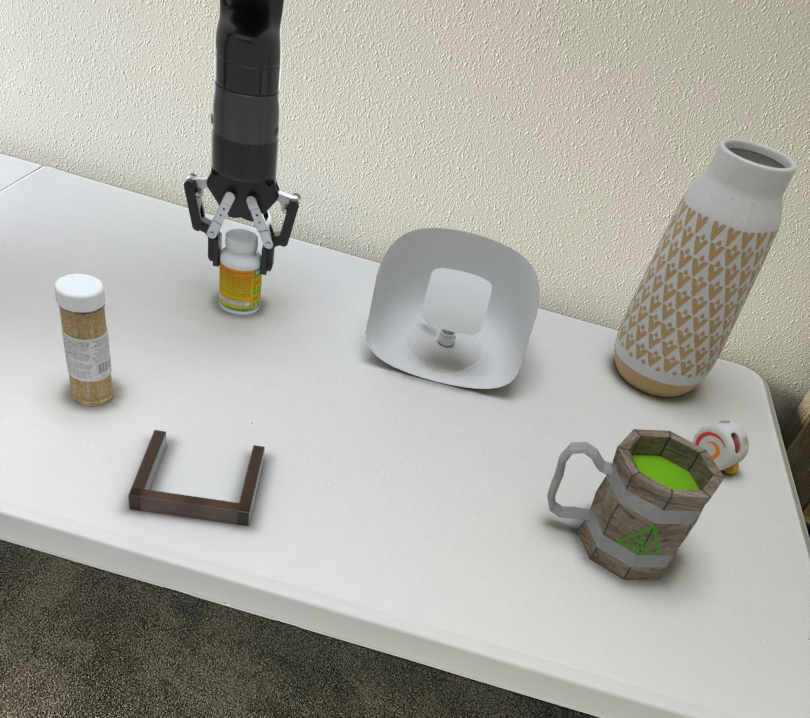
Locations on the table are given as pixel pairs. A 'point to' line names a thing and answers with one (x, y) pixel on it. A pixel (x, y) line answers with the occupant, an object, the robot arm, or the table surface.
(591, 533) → the mug
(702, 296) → the vase
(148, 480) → the frame
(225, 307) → the supplement bottle
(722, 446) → the roller toy
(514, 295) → the rounded square lampshade
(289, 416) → the table surface
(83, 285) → the sprinkles bottle
